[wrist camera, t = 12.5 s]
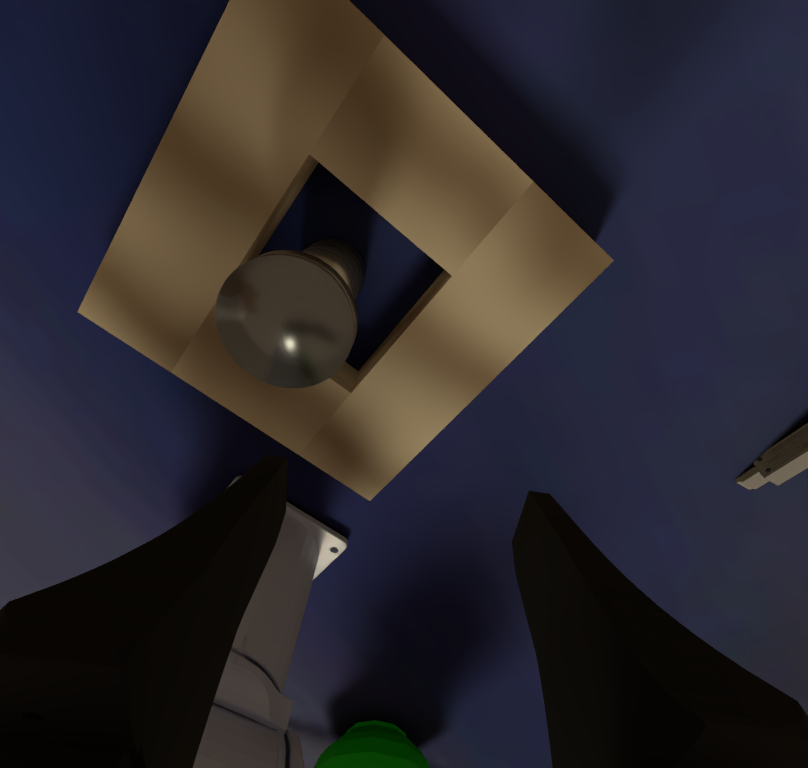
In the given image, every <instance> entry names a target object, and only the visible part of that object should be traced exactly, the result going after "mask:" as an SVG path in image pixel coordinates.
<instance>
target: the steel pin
mask: <svg viewBox="0 0 808 768" xmlns="http://www.w3.org/2000/svg"><path fill="white" fill-rule="evenodd" d="M364 279H365V267H364V263H363V260H362V258H361V256H360V254H359V253H358V252H357V250H356V249H355V248H354V247H353V246H352V245H350V244H349V243H347V242H345V241H343V240H340V239H336V238H325V239H321V240H318V241H316V242H315V243H313V244H312V245H310V246H309V247H307V248H306V249H304V250H303V251H301V252H300V251H296V250H276V251H270V252H267V253H264V254H261V255H259V256H257V257H255V258H253V259H252V260H250V261H248V262H246V263H244V264H242V265H241V266H239V267H238V268H237V269H235V270H234V271H233V272H232V273H231V274H230V275H229V276H228V278H227V279H226V280H225V282H224V283H223V285H222V287H221V289H220V292H219V294H218V297H217V302H216V311H215V317H216V325H217V330H218V333H219V336H220V339H221V341H222V343H223V345H224V347H225V349H226V351H227V352H228V354H229V355H230V356H231V358H232V359H233V360H234V361H235V362H236V363H237V364H238V365H239V366H240V367H241V368H242V369H243V370H244V371H246V372H247V373H248V374H249V375H251V376H253V377H254V378H256V379H258V380H260V381H262V382H264V383H267V384H270V385H273V386H277V387H281V388H305V387H310V386H313V385H316V384H319V383H321V382H323V381H325V380H327V379H328V378H330V377H331V376H332V375H334V374H335V373H336V372H337V371H338V370H339V369H340V368H341V366H342V365H343V364H344V362H345V361H346V359H347V357H348V355H349V353H350V350H351V348H352V345H353V343H354V340H355V337H356V333H357V328H358V313H357V307H356V303H355V299H356V297H357V295H358V293H359V292H360V290H361V288H362V286H363V283H364Z"/></svg>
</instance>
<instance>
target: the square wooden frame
mask: <svg viewBox="0 0 808 768" xmlns="http://www.w3.org/2000/svg"><path fill="white" fill-rule="evenodd" d="M318 163H320V164H321V165H323V166H324V167H325V168H326V169H327V170H329V171H330V172H331V173H332V174H333V175H334V176H336V177H337V178H338V179H339V180H340V181H341V182H343V183H344V184H345V185H346V186H347V187H348V188H350V189H351V190H352V191H353V192H354V193H355V194H357V195H358V196H359V197H360V198H361V199H362V200H364V201H365V202H366V203H367V204H368V205H369V206H371V207H372V208H373V209H374V210H375V211H377V212H378V213H379V214H380V215H381V216H382V217H384V218H385V219H386V220H387V221H388V222H389V223H391V224H392V225H393V226H394V227H395V228H396V229H398V230H399V231H400V232H401V233H402V234H403V235H405V236H406V237H407V238H408V239H409V240H410V241H412V242H413V243H414V244H415V245H416V246H417V247H419V248H420V249H421V250H422V251H423V252H425V253H426V254H427V255H428V256H429V257H430V258H432V259H433V260H434V261H435V262H436V263H437V264H439V265H440V266H441V267H442V268H443V269H444V270H443V272H442V273H441V274H440V275H439V276H438V278H437V279H436V280H435V281H434V282H433V283H432V285H431V286H430V287H429V288H428V289H427V291H426V292H425V293H424V294H423V295H422V296H421V298H420V299H419V300H418V301H417V302H416V304H415V305H414V306H413V307H412V308H411V309H410V311H409V312H408V313H407V314H406V315H405V316H404V318H403V319H402V320H401V321H400V322H399V324H398V325H397V326H396V327H395V328H394V329H393V331H392V332H391V333H390V334H389V335H388V337H387V338H386V339H385V340H384V341H383V342H382V344H381V345H380V346H379V347H378V348H377V350H376V351H375V352H374V353H373V354H372V355H371V357H370V358H369V359H368V360H367V361H366V362H365V364H364V365H363V366H362V367H361V368H360V370H359V371H357V370H356V369H354V368H353V367H352V366H350V365H349V364H348V363H346V362H344V364H343V365H342V366H341V368H340V369H339V370H338V371H337V372H336V373H335V374H334V375H332V376H331V377H330V378H328V379H327V380H325V381H323V382H321V383H319V384H316V385H313V386H310V387H305V388H281V387H277V386H273V385H270V384H267V383H264V382H262V381H260V380H258V379H256V378H254V377H253V376H251V375H249V374H248V373H247V372H246V371H244V370H243V369H242V368H241V367H240V366H239V365H238V364H237V363H236V362H235V361H234V360H233V359H232V358H231V356H230V355H229V354H228V352H227V351H226V349H225V347H224V345H223V343H222V341H221V339H220V336H219V333H218V330H217V325H216V317H215V311H216V302H217V297H218V294H219V292H220V289H221V287H222V285H223V283H224V282H225V280H226V279H227V278H228V276H229V275H230V274H231V273H232V272H233V271H234V270H235V269H237V268H238V267H239V266H241V265H242V264H244V263H246V262H248V261H250V260H252V259H253V258H255V257H257V256H259V254H260V253H261V251H262V249H263V248H264V246H265V245H266V243H267V242H268V240H269V239H270V237H271V236H272V234H273V232H274V231H275V229H276V228H277V226H278V225H279V223H280V222H281V220H282V218H283V217H284V215H285V214H286V212H287V211H288V209H289V208H290V206H291V205H292V203H293V201H294V200H295V198H296V197H297V195H298V194H299V192H300V191H301V189H302V187H303V186H304V184H305V183H306V181H307V180H308V178H309V177H310V175H311V174H312V172H313V170H314V169H315V167H316V166H317V164H318ZM613 261H614V260H613V259H612V258H611V257H610V256H609V255H608V254H607V253H606V252H605V251H604V250H603V249H601V248H600V247H599V246H598V245H597V244H596V243H595V242H594V241H593V240H592V239H591V238H590V237H589V236H588V235H587V234H586V233H585V232H584V231H583V230H582V229H581V228H580V227H579V226H578V225H577V224H576V223H575V222H574V221H573V220H572V219H571V218H570V217H569V216H568V215H567V214H566V213H565V212H564V211H563V210H562V209H561V208H560V207H559V206H558V205H557V204H556V203H555V202H554V201H553V200H552V199H551V198H550V197H549V196H548V195H547V194H546V193H545V192H544V191H543V190H542V189H541V188H539V187H538V186H537V185H536V184H535V183H534V182H533V181H532V180H531V179H530V178H529V177H528V176H527V175H526V174H525V173H524V172H523V171H522V170H521V169H520V168H519V167H518V166H517V165H516V164H515V163H514V162H513V161H512V160H511V159H510V158H509V157H508V156H507V155H506V154H505V153H504V152H503V151H502V150H501V149H500V148H499V147H498V146H497V145H496V144H495V143H494V142H493V141H492V140H491V139H490V138H489V137H488V136H487V135H486V134H485V133H484V132H483V131H482V130H481V129H480V128H479V127H478V126H476V125H475V124H474V123H473V122H472V121H471V120H470V119H469V118H468V117H467V116H466V115H465V114H464V113H463V112H462V111H461V110H460V109H459V108H458V107H457V106H456V105H455V104H454V103H453V102H452V101H451V100H450V99H449V98H448V97H447V96H446V95H445V94H444V93H443V92H442V91H441V90H440V89H439V88H438V87H437V86H436V85H435V84H434V83H433V82H432V81H431V80H430V79H429V78H428V77H427V76H426V75H425V74H424V73H423V72H422V71H421V70H420V69H419V68H418V67H417V66H416V65H414V64H413V63H412V62H411V61H410V60H409V59H408V58H407V57H406V56H405V55H404V54H403V53H402V52H401V51H400V50H399V49H398V48H397V47H396V46H395V45H394V44H393V43H392V42H391V41H390V40H389V39H388V38H387V37H386V36H385V35H384V34H383V33H382V32H381V31H380V30H379V29H378V28H377V27H376V26H375V25H374V24H373V23H372V22H371V21H370V20H369V19H368V18H367V17H366V16H365V15H364V14H363V13H362V12H361V11H360V10H359V9H358V8H357V7H356V6H355V5H354V4H353V3H351V2H350V1H349V0H230V1H229V3H228V5H227V7H226V9H225V11H224V13H223V15H222V17H221V19H220V21H219V23H218V25H217V27H216V29H215V31H214V33H213V35H212V38H211V40H210V42H209V44H208V46H207V48H206V50H205V52H204V54H203V56H202V58H201V60H200V62H199V64H198V66H197V68H196V70H195V72H194V74H193V76H192V79H191V81H190V83H189V85H188V87H187V89H186V91H185V93H184V95H183V97H182V99H181V101H180V103H179V105H178V107H177V109H176V111H175V113H174V115H173V117H172V119H171V122H170V124H169V126H168V128H167V130H166V132H165V134H164V136H163V138H162V140H161V142H160V144H159V146H158V148H157V150H156V152H155V154H154V156H153V158H152V160H151V163H150V165H149V167H148V169H147V171H146V173H145V175H144V177H143V179H142V181H141V183H140V185H139V187H138V189H137V191H136V193H135V195H134V197H133V199H132V201H131V204H130V206H129V208H128V210H127V212H126V214H125V216H124V218H123V220H122V222H121V224H120V226H119V228H118V230H117V232H116V234H115V236H114V238H113V240H112V242H111V244H110V247H109V249H108V251H107V253H106V255H105V257H104V259H103V261H102V263H101V265H100V267H99V269H98V271H97V273H96V275H95V277H94V279H93V281H92V283H91V285H90V288H89V290H88V292H87V294H86V296H85V298H84V300H83V302H82V304H81V306H80V308H79V310H78V313H80V314H82V315H83V316H85V317H86V318H88V319H89V320H91V321H92V322H94V323H95V324H97V325H99V326H100V327H102V328H103V329H105V330H106V331H108V332H109V333H111V334H112V335H114V336H116V337H117V338H119V339H120V340H122V341H123V342H125V343H126V344H128V345H129V346H131V347H133V348H134V349H136V350H137V351H139V352H140V353H142V354H143V355H145V356H146V357H148V358H150V359H151V360H153V361H154V362H156V363H157V364H159V365H160V366H162V367H163V368H165V369H167V370H168V371H170V372H171V373H173V374H174V375H176V376H177V377H179V378H180V379H182V380H184V381H185V382H187V383H188V384H190V385H191V386H193V387H194V388H196V389H197V390H199V391H201V392H202V393H204V394H205V395H207V396H208V397H210V398H211V399H213V400H214V401H216V402H218V403H219V404H221V405H222V406H224V407H225V408H227V409H228V410H230V411H231V412H233V413H235V414H236V415H238V416H239V417H241V418H242V419H244V420H245V421H247V422H248V423H250V424H252V425H253V426H255V427H256V428H258V429H259V430H261V431H262V432H264V433H265V434H267V435H269V436H270V437H272V438H273V439H275V440H276V441H278V442H279V443H281V444H282V445H284V446H286V447H287V448H289V449H290V450H292V451H293V452H295V453H296V454H298V455H299V456H301V457H303V458H304V459H306V460H307V461H309V462H310V463H312V464H313V465H315V466H316V467H318V468H320V469H321V470H323V471H324V472H326V473H327V474H329V475H330V476H332V477H333V478H335V479H337V480H338V481H340V482H341V483H343V484H344V485H346V486H347V487H349V488H350V489H352V490H354V491H355V492H357V493H358V494H360V495H361V496H363V497H364V498H366V499H367V500H369V501H370V500H371V499H372V498H373V497H374V496H375V495H376V494H377V493H378V492H379V491H381V490H382V489H383V488H384V487H385V486H386V485H387V484H388V483H389V482H390V481H391V480H392V479H393V478H394V477H395V476H396V475H397V474H398V473H399V472H400V471H401V470H402V469H403V468H404V467H405V466H406V465H407V464H408V463H409V462H410V461H411V460H412V459H413V458H414V457H415V456H416V455H417V454H418V453H419V452H420V451H421V450H422V449H423V448H424V447H425V446H426V445H427V444H428V443H429V442H430V441H431V440H432V439H433V438H434V437H435V436H436V435H437V434H438V433H439V432H440V431H441V430H442V429H443V428H444V427H445V426H446V425H447V424H448V423H449V422H451V421H452V420H453V419H454V418H455V417H456V416H457V415H458V414H459V413H460V412H461V411H462V410H463V409H464V408H465V407H466V406H467V405H468V404H469V403H470V402H471V401H472V400H473V399H474V398H475V397H476V396H477V395H478V394H479V393H480V392H481V391H482V390H483V389H484V388H485V387H486V386H487V385H488V384H489V383H490V382H491V381H492V380H493V379H494V378H495V377H496V376H497V375H498V374H499V373H500V372H501V371H502V370H503V369H504V368H505V367H506V366H507V365H508V364H509V363H510V362H511V361H512V360H513V359H514V358H515V357H516V356H517V355H518V354H519V353H520V352H522V351H523V350H524V349H525V348H526V347H527V346H528V345H529V344H530V343H531V342H532V341H533V340H534V339H535V338H536V337H537V336H538V335H539V334H540V333H541V332H542V331H543V330H544V329H545V328H546V327H547V326H548V325H549V324H550V323H551V322H552V321H553V320H554V319H555V318H556V317H557V316H558V315H559V314H560V313H561V312H562V311H563V310H564V309H565V308H566V307H567V306H568V305H569V304H570V303H571V302H572V301H573V300H574V299H575V298H576V297H577V296H578V295H579V294H580V293H581V292H582V291H583V290H584V289H585V288H586V287H587V286H588V285H589V284H590V283H591V282H593V281H594V280H595V279H596V278H597V277H598V276H599V275H600V274H601V273H602V272H603V271H604V270H605V269H606V268H607V267H608V266H609V265H610V264H611V263H612V262H613Z"/></svg>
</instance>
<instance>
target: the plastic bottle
mask: <svg viewBox="0 0 808 768" xmlns="http://www.w3.org/2000/svg"><path fill="white" fill-rule="evenodd" d="M314 768H429V765H428V762H427V760H426V758H425V757H424V755H423V754H422V753H421V751H420V750H419V749H418V748H417V747H416V746H415V745H414V744H413V743H412V742H411V741H410V740H409V739H408V738H407V737H406V734H405V733H404V732H403V731H402V730H401V729H399V728H398V727H397V726H396V725H394V724H390V723H386V722H381V721H377V720H373V721H366V722H359V723H356V724H355V725H354V726H352V727H351V728H350V729H348V730H347V731H346V733H345V734H344V735H343V736H342V737H340V738H339V739H338V740H336V741H335V742H334V743H333V744H331V745H330V746H329V747H328V748H327V749H326V750H325V751H324V752H323V753H322V754H321V755H320V757H319V759H318V761H317V763H316V764H315V766H314Z"/></svg>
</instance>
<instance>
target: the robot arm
mask: <svg viewBox="0 0 808 768" xmlns="http://www.w3.org/2000/svg"><path fill="white" fill-rule="evenodd" d="M287 465H288V458H286V457H279V456H272V455H266V456H265V457H263V458H262V459H261V460H260V461H259V462H257V463H256V464H255V465H254V466H253V467H252V468H251V469H249V470H248V471H247V472H246V473H245V474H244V475H243V476H237V477H236V478H235V479H234V480H233V481H232V482H231V484H230V485H229V486H228V487H227V489H226V490H224V491H223V492H222V493H221V494H219V495H218V496H217V497H216V498H214V499H213V500H212V501H210V502H209V503H207V504H206V505H205V506H203V507H202V508H201V509H199V510H198V511H196V512H195V513H194V514H192V515H191V516H189V517H188V518H187V519H185V520H184V521H182V522H181V523H179V524H177V525H176V526H174V527H173V528H171V529H170V530H168V531H166V532H165V533H163V534H161V535H160V536H158V537H156V538H154V539H153V540H151V541H149V542H147V543H145V544H143V545H141V546H139V547H138V548H136V549H134V550H132V551H130V552H128V553H126V554H124V555H122V556H120V557H118V558H116V559H114V560H112V561H110V562H108V563H106V564H103V565H101V566H99V567H97V568H95V569H92V570H90V571H88V572H85V573H83V574H81V575H78V576H76V577H74V578H71V579H69V580H66V581H64V582H61V583H59V584H56V585H53V586H51V587H48V588H45V589H43V590H40V591H37V592H34V593H32V594H29V595H26V596H24V597H21V598H18V599H15V600H12V601H9V602H8V603H7V604H6V605H5V606H4V607H3V608H2V609H1V610H0V768H305V767H304V760H303V751H302V745H301V741H300V738H299V736H298V735H297V734H296V733H295V732H294V731H293V730H290V729H287V726H288V722H289V717H290V713H291V709H292V705H293V702H292V700H290V699H288V698H286V697H284V696H283V695H282V693H283V689H284V685H285V681H286V678H287V674H288V670H289V666H290V663H291V659H292V655H293V652H294V648H295V644H296V640H297V637H298V633H299V629H300V625H301V622H302V618H303V614H304V611H305V607H306V603H307V599H308V596H309V592H310V588H311V584H312V581H313V580H314V579H315V578H316V577H317V576H318V575H319V574H320V573H321V572H322V571H323V570H324V569H325V568H326V567H327V566H328V565H329V564H330V563H331V562H332V561H334V560H335V559H336V558H337V557H338V556H339V555H340V554H341V553H342V552H343V551H344V550H345V549H346V548H347V544H348V541H347V539H346V538H345V537H344V536H342V535H340V534H339V533H337V532H335V531H334V530H332V529H331V528H329V527H327V526H326V525H324V524H322V523H321V522H319V521H317V520H316V519H314V518H313V517H311V516H309V515H308V514H306V513H304V512H303V511H301V510H299V509H298V508H296V507H295V506H293V505H291V504H290V503H288V502H286V496H287ZM512 546H513V556H514V564H515V571H516V577H517V581H518V585H519V589H520V593H521V597H522V601H523V605H524V609H525V613H526V617H527V621H528V625H529V628H530V632H531V636H532V640H533V644H534V648H535V652H536V657H537V661H538V666H539V672H540V678H541V685H542V691H543V697H544V704H545V711H546V718H547V726H548V733H549V740H550V748H551V757H552V766H553V768H808V715H807V714H806V712H805V711H804V710H803V708H802V707H801V705H800V704H799V703H798V701H796V700H795V699H793V698H791V697H790V696H788V695H786V694H785V693H783V692H781V691H780V690H778V689H777V688H775V687H773V686H772V685H770V684H768V683H767V682H765V681H763V680H762V679H760V678H758V677H757V676H755V675H754V674H752V673H750V672H749V671H747V670H745V669H744V668H742V667H741V666H739V665H738V664H736V663H735V662H733V661H732V660H730V659H729V658H727V657H726V656H725V655H723V654H722V653H720V652H719V651H717V650H716V649H714V648H713V647H711V646H710V645H709V644H707V643H706V642H704V641H703V640H702V639H700V638H699V637H697V636H696V635H695V634H693V633H692V632H691V631H689V630H688V629H687V628H686V627H684V626H683V625H682V624H680V623H679V622H678V621H676V620H675V619H674V618H673V617H671V616H670V615H669V614H668V613H666V612H665V611H664V610H663V609H661V608H660V607H659V606H658V605H657V604H655V603H654V602H653V601H652V600H651V599H650V598H649V597H647V596H646V595H645V594H644V593H643V592H642V591H641V590H639V589H638V588H637V587H636V586H635V585H634V584H633V583H632V582H631V581H630V580H629V579H627V578H626V577H625V576H624V575H623V574H622V573H621V572H620V571H619V570H618V569H617V568H616V567H615V566H614V565H613V564H612V563H611V562H610V561H609V560H608V559H607V558H606V557H605V556H604V554H603V553H602V552H601V551H600V550H599V549H598V548H597V547H596V546H595V545H594V544H593V543H592V542H591V541H590V539H589V538H588V537H587V536H586V535H585V534H584V533H583V532H582V530H581V529H580V528H579V527H578V526H577V525H576V524H575V522H574V521H573V520H572V519H571V518H570V517H569V516H568V514H567V513H566V512H565V511H564V510H563V509H562V507H561V506H560V505H559V504H558V503H557V502H556V501H555V500H554V498H553V497H552V496H551V495H550V494H547V493H540V492H533V491H529V492H528V495H527V498H526V501H525V504H524V507H523V510H522V513H521V516H520V519H519V522H518V525H517V528H516V531H515V534H514V537H513V540H512ZM333 547H336V548H333Z"/></svg>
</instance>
